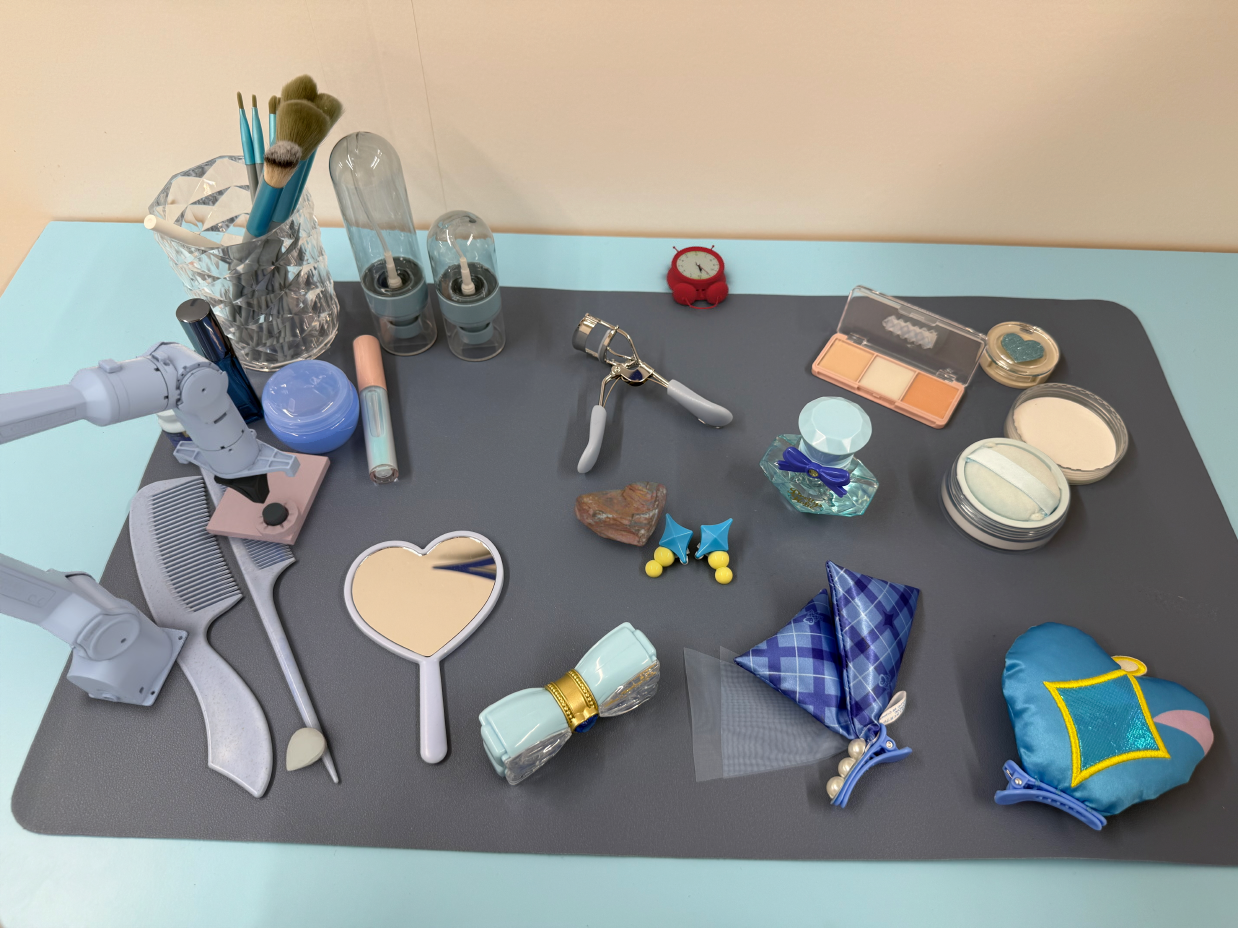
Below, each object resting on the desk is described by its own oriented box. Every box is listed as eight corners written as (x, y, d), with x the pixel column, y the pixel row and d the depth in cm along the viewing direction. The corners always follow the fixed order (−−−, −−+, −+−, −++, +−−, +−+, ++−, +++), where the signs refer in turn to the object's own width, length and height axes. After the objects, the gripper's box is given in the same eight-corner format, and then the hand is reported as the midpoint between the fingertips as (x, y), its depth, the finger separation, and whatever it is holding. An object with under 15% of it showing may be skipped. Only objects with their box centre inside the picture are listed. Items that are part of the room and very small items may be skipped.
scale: (295, 547, 104) (287, 536, 102) (208, 536, 105) (199, 524, 103) (333, 462, 112) (327, 450, 110) (252, 452, 113) (244, 440, 111)
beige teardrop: (336, 744, 89) (329, 737, 87) (305, 783, 86) (298, 777, 84) (308, 725, 90) (301, 718, 88) (277, 763, 88) (269, 757, 86)
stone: (662, 504, 109) (666, 463, 101) (674, 556, 104) (679, 517, 96) (573, 515, 108) (571, 475, 100) (581, 569, 103) (579, 530, 95)
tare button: (282, 527, 103) (278, 521, 102) (262, 524, 103) (258, 518, 102) (290, 509, 105) (286, 503, 103) (271, 507, 105) (267, 500, 104)
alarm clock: (722, 240, 138) (737, 280, 126) (719, 272, 142) (734, 314, 130) (664, 242, 137) (674, 283, 126) (663, 274, 141) (673, 316, 130)
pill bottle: (208, 464, 112) (177, 421, 104) (172, 458, 113) (139, 415, 105) (228, 434, 115) (199, 390, 107) (193, 428, 116) (162, 384, 108)
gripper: (293, 412, 90) (327, 478, 101) (175, 398, 91) (221, 465, 102) (269, 460, 86) (307, 523, 97) (146, 444, 87) (197, 509, 98)
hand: (262, 496), depth 99 cm, fingers closed
